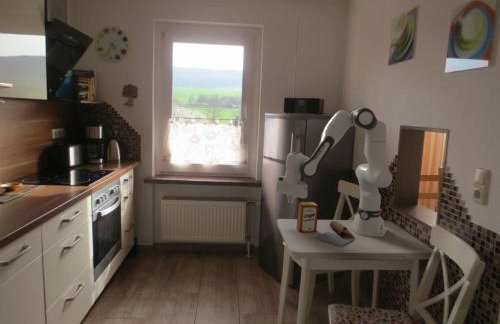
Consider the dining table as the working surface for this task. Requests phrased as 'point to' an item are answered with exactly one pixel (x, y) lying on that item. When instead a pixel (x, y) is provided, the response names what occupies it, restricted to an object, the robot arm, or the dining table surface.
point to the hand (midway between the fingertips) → (290, 202)
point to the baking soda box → (307, 217)
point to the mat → (334, 239)
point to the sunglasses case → (341, 230)
